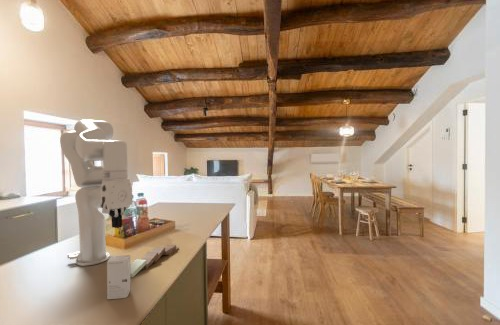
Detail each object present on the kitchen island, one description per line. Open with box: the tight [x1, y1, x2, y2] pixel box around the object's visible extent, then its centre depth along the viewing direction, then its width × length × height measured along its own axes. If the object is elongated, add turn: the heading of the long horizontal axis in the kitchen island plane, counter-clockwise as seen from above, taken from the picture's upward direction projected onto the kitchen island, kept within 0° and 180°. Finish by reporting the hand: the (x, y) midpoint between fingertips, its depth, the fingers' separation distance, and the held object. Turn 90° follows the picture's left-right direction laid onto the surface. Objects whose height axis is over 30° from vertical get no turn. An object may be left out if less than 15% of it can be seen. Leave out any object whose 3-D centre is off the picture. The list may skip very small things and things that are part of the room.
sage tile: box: [130, 258, 147, 278], centre depth 99 cm, size 2×5×8 cm
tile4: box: [166, 246, 180, 256], centre depth 119 cm, size 2×5×8 cm
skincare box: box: [106, 254, 131, 300], centre depth 83 cm, size 6×4×12 cm
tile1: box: [141, 250, 159, 270], centre depth 105 cm, size 2×5×8 cm
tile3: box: [161, 243, 177, 256], centre depth 118 cm, size 2×5×8 cm
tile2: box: [150, 246, 165, 264], centre depth 111 cm, size 2×5×8 cm
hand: (116, 226), depth 92 cm, fingers closed
